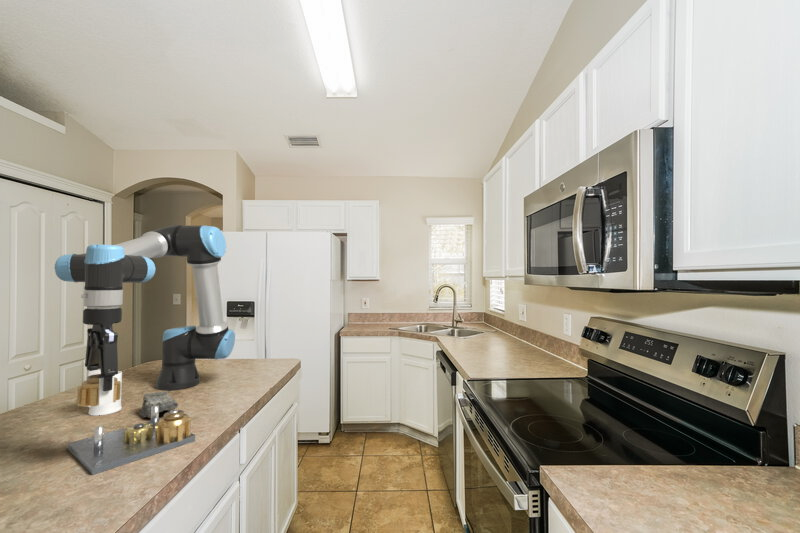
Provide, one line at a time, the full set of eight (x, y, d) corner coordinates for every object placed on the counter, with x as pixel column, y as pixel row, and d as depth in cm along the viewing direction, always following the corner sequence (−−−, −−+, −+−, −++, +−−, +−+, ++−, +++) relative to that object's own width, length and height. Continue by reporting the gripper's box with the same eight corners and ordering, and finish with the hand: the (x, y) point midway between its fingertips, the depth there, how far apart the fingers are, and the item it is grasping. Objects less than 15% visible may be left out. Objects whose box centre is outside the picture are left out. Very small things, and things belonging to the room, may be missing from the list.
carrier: (163, 422, 113) (164, 394, 113) (196, 441, 101) (197, 410, 101) (67, 449, 95) (68, 416, 96) (93, 475, 83) (94, 437, 83)
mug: (85, 421, 113) (87, 381, 114) (70, 416, 117) (71, 377, 117) (127, 408, 124) (128, 372, 124) (111, 405, 127) (113, 369, 128)
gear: (113, 393, 98) (114, 369, 98) (125, 400, 93) (126, 375, 93) (72, 401, 91) (74, 376, 91) (82, 409, 86) (84, 382, 87)
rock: (180, 414, 120) (181, 393, 120) (151, 423, 112) (151, 401, 113) (158, 406, 127) (158, 387, 127) (129, 415, 119) (129, 394, 119)
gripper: (71, 305, 96) (67, 395, 95) (97, 311, 84) (93, 414, 83) (107, 304, 102) (104, 388, 101) (137, 309, 90) (133, 405, 89)
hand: (99, 400), depth 92 cm, fingers closed on gear, 8 cm apart
